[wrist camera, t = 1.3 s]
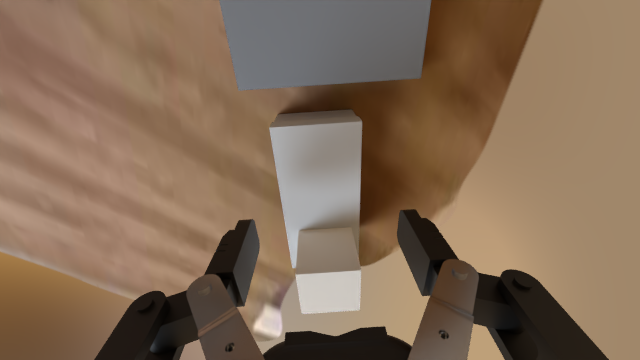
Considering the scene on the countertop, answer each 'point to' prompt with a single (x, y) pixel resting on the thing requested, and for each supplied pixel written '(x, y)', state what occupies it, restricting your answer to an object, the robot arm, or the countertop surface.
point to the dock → (324, 41)
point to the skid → (318, 171)
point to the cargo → (328, 271)
